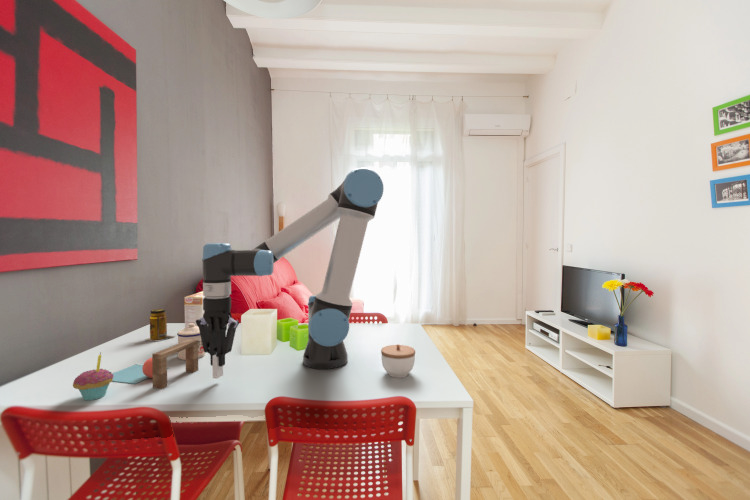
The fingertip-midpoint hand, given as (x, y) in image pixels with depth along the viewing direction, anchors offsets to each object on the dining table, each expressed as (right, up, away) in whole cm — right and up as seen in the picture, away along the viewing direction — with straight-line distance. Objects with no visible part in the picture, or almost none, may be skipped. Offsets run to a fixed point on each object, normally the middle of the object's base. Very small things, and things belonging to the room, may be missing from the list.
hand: (217, 376), depth 109 cm
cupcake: (-29, -2, -10) cm, 31 cm away
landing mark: (-28, -1, +6) cm, 29 cm away
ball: (-21, +1, +4) cm, 21 cm away
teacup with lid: (-19, -1, +25) cm, 31 cm away
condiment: (-43, 0, +46) cm, 63 cm away
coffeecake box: (-23, 0, +41) cm, 47 cm away
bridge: (-14, -2, +3) cm, 14 cm away
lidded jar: (+53, -2, +9) cm, 54 cm away
